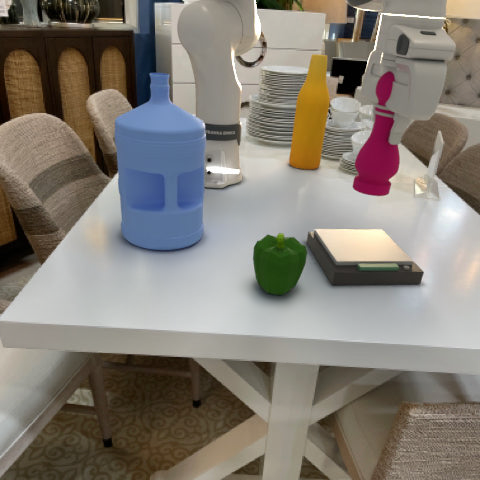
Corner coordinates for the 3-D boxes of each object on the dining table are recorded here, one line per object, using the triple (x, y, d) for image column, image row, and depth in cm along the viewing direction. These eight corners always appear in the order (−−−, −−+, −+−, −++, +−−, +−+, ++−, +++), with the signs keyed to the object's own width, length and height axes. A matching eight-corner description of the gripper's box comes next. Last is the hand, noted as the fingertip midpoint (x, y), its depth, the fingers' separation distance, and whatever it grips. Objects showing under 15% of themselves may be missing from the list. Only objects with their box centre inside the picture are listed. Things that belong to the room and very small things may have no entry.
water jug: (115, 223, 95) (102, 66, 80) (190, 217, 100) (191, 69, 85) (130, 256, 83) (119, 79, 68) (214, 247, 89) (221, 82, 73)
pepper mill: (393, 200, 78) (431, 63, 67) (349, 193, 79) (380, 57, 68) (390, 187, 84) (425, 59, 73) (349, 181, 85) (378, 54, 74)
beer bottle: (321, 171, 137) (339, 57, 121) (289, 168, 137) (303, 55, 121) (317, 162, 145) (334, 55, 129) (287, 160, 145) (300, 52, 129)
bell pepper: (267, 270, 82) (273, 215, 77) (308, 286, 79) (318, 229, 73) (239, 288, 76) (244, 230, 71) (283, 306, 73) (292, 246, 67)
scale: (332, 285, 79) (335, 268, 78) (306, 242, 93) (308, 227, 92) (420, 284, 82) (425, 267, 80) (382, 243, 96) (386, 228, 94)
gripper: (361, 34, 77) (345, 124, 85) (418, 43, 60) (392, 154, 68) (397, 37, 78) (378, 126, 86) (463, 47, 61) (432, 156, 69)
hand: (385, 139), depth 77 cm, fingers closed on pepper mill, 5 cm apart
